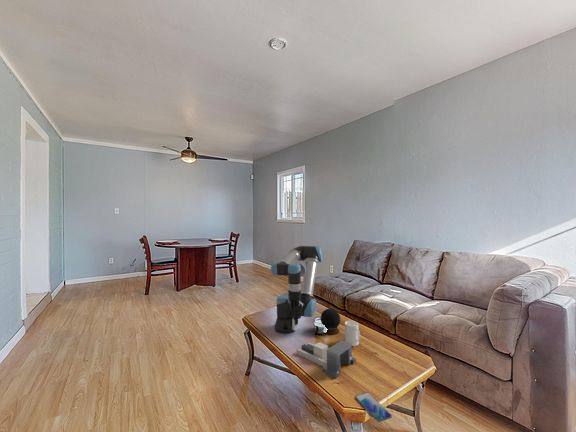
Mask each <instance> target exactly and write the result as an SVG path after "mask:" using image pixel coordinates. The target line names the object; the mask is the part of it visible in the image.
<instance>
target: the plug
mask: <svg viewBox="0 0 576 432" xmlns="http://www.w3.org/2000/svg"><path fill="white" fill-rule="evenodd" d="M327 349H329V346H328V345H326V344H324V343H323V342H317V343H315V344H314V348H312V347H310V346H307V344H302V345H301V350H303V351H305V352H307V353H310V354H312V355H314V356H316V357H318V358H320V359H322V360H325V361H327Z"/></svg>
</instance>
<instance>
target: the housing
mask: <svg viewBox="0 0 576 432" xmlns="http://www.w3.org/2000/svg"><path fill="white" fill-rule="evenodd" d="M352 347H353V346H352V344H351V343H348V342H346V341H345V340H342V339H341V340H340V341H338V342H337V343H335V344H333V345H332V346H330V347H328V349H327V360H326V361H327V366H324V367H323V366H322V368H321V369H322V373H324V374H326V375H328V376H330V377H332V378H333V379H338V377H340V374H341V364H343V365H346V366H349V367H350V366H351V365H354V364H355V363H357V360H356V359H357V358H356V357H354V356H352V355H353V354H352Z"/></svg>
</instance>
